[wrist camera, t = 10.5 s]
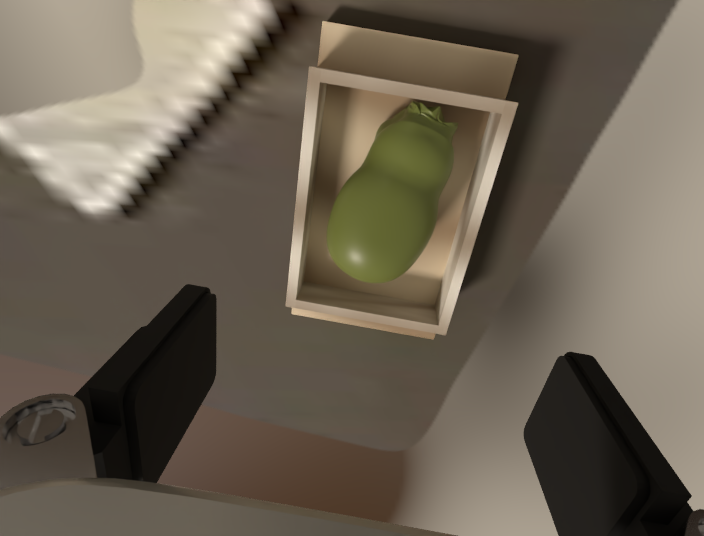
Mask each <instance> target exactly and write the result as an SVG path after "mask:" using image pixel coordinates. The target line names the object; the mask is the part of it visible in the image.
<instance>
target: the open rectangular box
mask: <svg viewBox="0 0 704 536" xmlns="http://www.w3.org/2000/svg"><path fill="white" fill-rule="evenodd" d="M518 56H519V55H516V54H510V53H505V52H499V51H493V50H487V49H482V48H476V47H470V46H464V45H458V44H453V43H447V42H441V41H435V40H430V39H424V38H418V37H412V36H406V35H401V34H395V33H389V32H383V31H378V30H372V29H366V28H360V27H354V26H349V25H343V24H337V23H331V22H325V21H322V31H321V40H320V49H319V59H318V67H309V74H308V84H307V94H306V104H305V114H304V125H303V135H302V145H301V155H300V165H299V176H298V186H297V196H296V206H295V217H294V227H293V237H292V247H291V257H290V268H289V278H288V288H287V298H286V307H292V313H291V314H295V315H301V316H306V317H312V318H317V319H323V320H328V321H334V322H339V323H345V324H351V325H356V326H362V327H367V328H373V329H378V330H384V331H389V332H395V333H400V334H406V335H411V336H417V337H422V338H428V339H433V340H434V337H435V333H436V334H441V335H446V332H447V329H448V326H449V323H450V320H451V317H452V313H453V310H454V307H455V304H456V301H457V297H458V294H459V291H460V288H461V285H462V281H463V278H464V275H465V272H466V269H467V265H468V262H469V259H470V256H471V253H472V250H473V246H474V243H475V240H476V237H477V234H478V230H479V227H480V224H481V221H482V218H483V214H484V211H485V208H486V205H487V202H488V199H489V195H490V192H491V189H492V186H493V183H494V179H495V176H496V173H497V170H498V167H499V163H500V160H501V157H502V154H503V151H504V147H505V144H506V141H507V138H508V135H509V132H510V128H511V125H512V122H513V119H514V116H515V112H516V109H517V106H518V103H517V102H512V101H508V100H505V99H506V96H507V93H508V89H509V86H510V83H511V79H512V76H513V73H514V69H515V66H516V63H517V59H518ZM412 101H415V102H419V103H422V104H424V105H425V106H426V107H427V108H429V107H437V106H440V108H441V111H442V114H443V115H444V120H445V122H455V123H458V128H457V130H456V132H455V134H454V135H453V140H452V146H453V149H454V163H453V168H452V172H451V174H450V177H449V179H448V181H447V183H446V185H445V187H444V189H443V191H442V193H441V195H440V198H439V202H438V216H437V222H436V226H435V229H434V231H433V234H432V236H431V238H430V240H429V242H428V244H427V246H426V247H425V249H424V251H423V252H422V254H421V255H420V256H419V258H418V259H417V260H416V262H415V263H414V264H413V265H412V266H411V267H410V268H409V269H408V270H407V271H406V272H405V273H404V274H403V275H401V276H400V277H398V278H396V279H394V280H392V281H389V282H385V283H367V282H363V281H360V280H357V279H355V278H353V277H351V276H349V275H348V274H346V273H345V272H343V271H342V270H341V269H340V268H339V267H338V266H337V265H336V263H335V262H334V261H333V259H332V257H331V256H330V253H329V250H328V247H327V238H326V236H327V226H328V221H329V217H330V214H331V211H332V208H333V205H334V202H335V200H336V198H337V196H338V194H339V192H340V190H341V188H342V187H343V185H344V184H345V182H346V181H347V180H348V179H349V178H350V177H351V175H352V174H353V173H354V172H356V171H357V170H358V169H359V168H360V167H361V165H362V164H363V162H364V160H365V159H366V156H367V154H368V152H369V150H370V148H371V146H372V144H373V142H374V140H375V136H376V132H377V130H378V128H379V127H380V125H381V124H382V123H383V122H385V121H386V120H389V119H392V118H393V117H394V116H395V115H396V114H398V113H399V112H400V111H402V110H404V109H405V108H406V107H407V106H409V104H411V103H412ZM440 108H439V109H440ZM437 115H438V113H437ZM437 115H436V116H437ZM435 118H437V117H435Z"/></svg>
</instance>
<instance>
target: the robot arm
mask: <svg viewBox="0 0 704 536" xmlns="http://www.w3.org/2000/svg"><path fill="white" fill-rule="evenodd" d="M215 376H216V295H215V294H211V293H210V289H209V288H207V287H201V286H195V285H190V284H187V285H185V286H184V287H183V288H182V289H181V290H180V291H179V293H178V294H177V295H176V296H175V297H174V298H173V299H172V300H171V301H170V302H169V303H168V304H167V305H166V306H165V307H164V308H163V309H162V310H161V311H160V312H159V314H158V315H157V316H156V317H155V318H154V319H153V320H152V321H151V322H150V323H149V324H148V325H147V326H144V327H141V328H140V329H139V330H137V331H136V332H135V333H134V334H133V335H132V336H131V337H130V338H129V340H128V341H127V342H126V343H125V344H124V345H123V346H122V347H121V348H120V349H119V350H118V351H117V352H116V353H115V354H114V355H113V356H112V357H111V358H110V359H109V360H108V361H107V362H106V363H105V364H104V365H103V366H102V367H101V368H100V369H99V370H98V371H97V372H96V373H95V374H94V375H93V377H92V378H91V379H90V380H89V381H88V382H87V383H86V384H85V385H84V386H83V387H82V388H81V389H80V390H79V391H78V392H77V393H76V394H75V395H74V396H71V395H67V394H49V395H43V396H38V397H35V398H32V399H29V400H27V401H24V402H22V403H20V404H19V405H17V406H15V407H13V408H12V409H11V410H9V411H8V412H7V413H6V414H4V415H3V416H1V418H0V536H456V535H451V534H445V533H440V532H434V531H429V530H423V529H418V528H413V527H407V526H402V525H396V524H391V523H385V522H380V521H374V520H368V519H363V518H358V517H352V516H347V515H341V514H335V513H330V512H324V511H318V510H313V509H307V508H302V507H296V506H290V505H285V504H278V503H273V502H268V501H261V500H256V499H251V498H245V497H239V496H234V495H228V494H222V493H216V492H210V491H203V490H197V489H191V488H184V487H178V486H172V485H165V484H159V483H157V481H158V480H159V478H160V476H161V474H162V473H163V471H164V469H165V467H166V466H167V464H168V462H169V460H170V458H171V457H172V455H173V453H174V451H175V449H176V448H177V446H178V444H179V442H180V441H181V439H182V437H183V435H184V434H185V432H186V430H187V429H188V427H189V425H190V423H191V422H192V420H193V418H194V416H195V414H196V413H197V411H198V409H199V407H200V406H201V404H202V402H203V400H204V399H205V397H206V395H207V393H208V392H209V390H210V388H211V386H212V384H213V382H214V379H215ZM524 440H525V443H526V446H527V449H528V452H529V454H530V457H531V459H532V462H533V465H534V468H535V471H536V474H537V477H538V479H539V482H540V485H541V488H542V491H543V493H544V496H545V499H546V502H547V504H548V507H549V510H550V513H551V515H552V518H553V521H554V524H555V527H556V530H557V532H558V535H559V536H704V510H703V509H699V510H696V511H693V510H692V509H691V507H690V506H689V504H688V503H687V501H688V500H689V499H690V498H691V494H690V493H689V492H688V490H687V489H686V487H685V486H684V484H683V483H682V482H681V480H680V479H679V477H678V476H677V474H676V473H675V472H674V470H673V469H672V467H671V466H670V464H669V463H668V462H667V460H666V459H665V457H664V456H663V455H662V453H661V452H660V450H659V449H658V447H657V446H656V445H655V443H654V442H653V440H652V439H651V437H650V436H649V435H648V433H647V432H646V430H645V429H644V428H643V426H642V425H641V423H640V422H639V421H638V419H637V418H636V416H635V415H634V413H633V412H632V411H631V409H630V408H629V406H628V405H627V403H626V402H625V401H624V399H623V398H622V396H621V395H620V393H619V392H618V391H617V389H616V388H615V386H614V385H613V384H612V382H611V381H610V379H609V378H608V377H607V375H606V374H605V372H604V371H603V370H602V368H601V366H600V365H599V364H598V362H597V361H596V359H595V358H594V357H593V356H590V355H585V354H579V353H574V352H567V353H566V354H565V355H564V356H560V357H558V359H557V360H556V362H555V365H554V367H553V369H552V371H551V373H550V375H549V377H548V379H547V381H546V383H545V385H544V388H543V390H542V392H541V394H540V396H539V398H538V400H537V402H536V404H535V406H534V409H533V411H532V413H531V415H530V417H529V419H528V421H527V423H526V425H525V428H524Z"/></svg>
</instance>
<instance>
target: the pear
mask: <svg viewBox="0 0 704 536" xmlns="http://www.w3.org/2000/svg"><path fill="white" fill-rule="evenodd" d="M439 108H440V106H437V107H429V108H427V107H426V106H425V105H424V104H422V103H419V102H415V101H412V103H411V104H409V106H407V107H406V108H405V109H404V110H402V111H400V112H399V113H398V114H396V115H395V116H394V117H393V118H392V119H389V120H386V121H385V122H383V123H382V124H381V125H380V127H379V128H378V130H377V132H376V136H375V140H374V142H373V144H372V146H371V148H370V150H369V152H368V154H367V156H366V159H365V160H364V162H363V164H362V165H361V167H360V168H359V169H358V170H357V171H356V172H354V173H353V174H352V175H351V177H350V178H349V179H348V180H347V181H346V182H345V184H344V185H343V187H342V188H341V190H340V192H339V194H338V196H337V198H336V200H335V202H334V205H333V208H332V211H331V214H330V217H329V221H328V226H327V236H326V238H327V247H328V250H329V253H330V256H331V257H332V259H333V261H334V262H335V263H336V265H337V266H338V267H339V268H340V269H341V270H342V271H343V272H345V273H346V274H348V275H349V276H351V277H353V278H355V279H357V280H360V281H363V282H367V283H385V282H389V281H392V280H394V279H396V278H398V277H400V276H401V275H403V274H404V273H405V272H406V271H407V270H408V269H409V268H410V267H411V266H412V265H413V264H414V263H415V262H416V260H417V259H418V258H419V256H420V255H421V254H422V252H423V251H424V249H425V247H426V246H427V244H428V242H429V240H430V238H431V236H432V234H433V231H434V229H435V226H436V222H437V216H438V202H439V198H440V195H441V193H442V191H443V189H444V187H445V185H446V183H447V181H448V179H449V177H450V174H451V172H452V168H453V163H454V149H453V146H452V140H453V135H454V134H455V132H456V130H457V128H458V123H455V122H445V120H444V115H443V114H442V111H441V108H440V109H439ZM437 113H438V115H437ZM436 115H437V116H436ZM435 117H437V118H435Z"/></svg>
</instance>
